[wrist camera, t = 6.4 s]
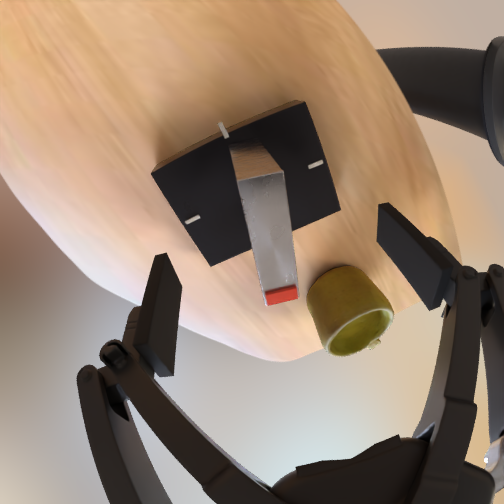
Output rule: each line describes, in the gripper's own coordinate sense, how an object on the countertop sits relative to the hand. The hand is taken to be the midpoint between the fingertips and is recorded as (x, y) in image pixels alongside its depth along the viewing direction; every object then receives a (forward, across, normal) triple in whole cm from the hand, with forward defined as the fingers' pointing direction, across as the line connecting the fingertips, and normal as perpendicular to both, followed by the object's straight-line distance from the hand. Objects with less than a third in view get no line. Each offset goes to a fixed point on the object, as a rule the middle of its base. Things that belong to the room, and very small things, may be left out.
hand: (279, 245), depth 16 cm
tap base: (+11, -1, 0) cm, 11 cm away
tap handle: (+9, -1, 0) cm, 9 cm away
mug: (+12, +8, -18) cm, 23 cm away
